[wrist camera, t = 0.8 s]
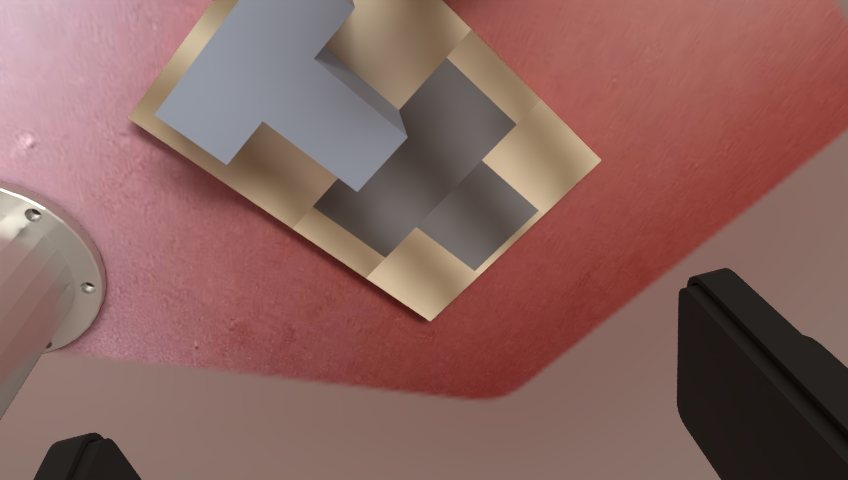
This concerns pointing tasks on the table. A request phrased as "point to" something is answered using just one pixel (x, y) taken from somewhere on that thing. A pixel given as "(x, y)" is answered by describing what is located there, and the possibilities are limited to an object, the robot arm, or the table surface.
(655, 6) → the table surface
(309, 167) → the board
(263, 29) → the t block
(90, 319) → the robot arm
